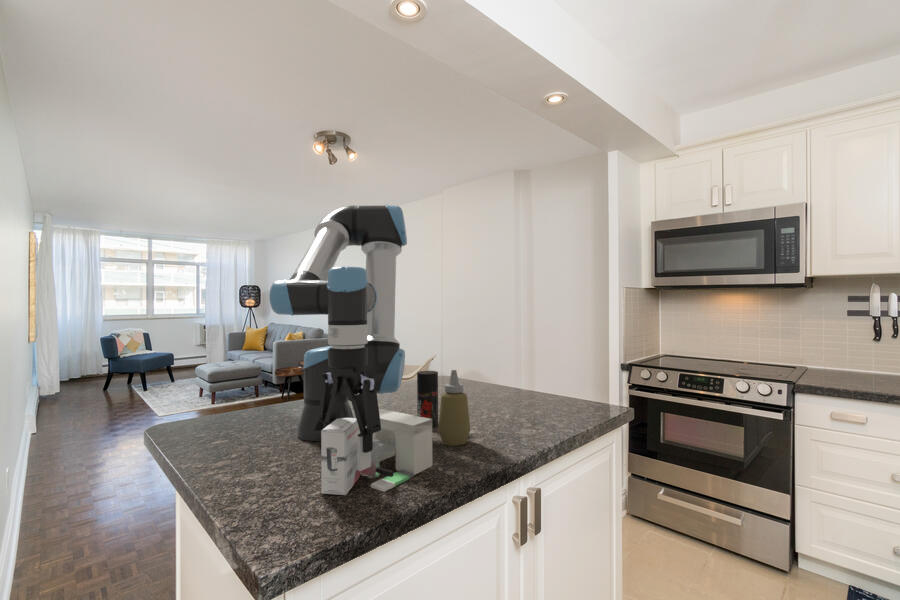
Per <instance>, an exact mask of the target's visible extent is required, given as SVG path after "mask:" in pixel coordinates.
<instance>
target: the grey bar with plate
mask: <svg viewBox="0 0 900 600" xmlns="http://www.w3.org/2000/svg"><path fill="white" fill-rule="evenodd" d="M372 446H373V449H372V451H371V467H369V468H366V469H364V470H362V471H360V474H364V475H367V476H370V477H372V478H378V477H380V474H381V475H384V476H386V477H387V476H390V477H392V476H393V473H394V471H392V470H388V469H387V468H386V469H385V468H382V467H380V462H379V456H380V455H382V454H385V453H387V452H390V451H392V450H395V451H396V437H395V438H392V437H391V438H388V439H385V440H383V441H380V442H379V440H376V439H373V445H372Z"/></svg>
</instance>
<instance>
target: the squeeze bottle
mask: <svg viewBox="0 0 900 600" xmlns="http://www.w3.org/2000/svg"><path fill="white" fill-rule="evenodd" d="M440 396H441V397H440V405H439V414H438V426H437V429H438V433H439V436H440V438H441V441H442V443H443V444H444V445H446V446H453V447H455V446H457V447H458V446H462V445H463V446H464V444H466V443H467V441H468V438H469V434H470V431H471V422H470V413H469V404H468V403H469V402H468V395H467V394H466V393H465V392H464V384H462V383H460V382H459V377H458V372H457V370H456V369H452V370H451V371H450V377H449V381H448V383H445V384H444V393H442V394H441V395H440Z"/></svg>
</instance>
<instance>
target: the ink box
mask: <svg viewBox="0 0 900 600" xmlns="http://www.w3.org/2000/svg"><path fill="white" fill-rule="evenodd" d="M358 434H360V430H359V426H358V423H357V419H356V417H353V418H337V419H336V420H335V421H333V422H332V423H331V424H329V425H328V426H327V427H325V428H324V429H323V430H321V441H320V443H321V444H320V445H321V446H320V447H321V464H320V465H321V471H320V472H321V494H322V495H323V494H324V495H326V494H327V495H338V496H347V494H348V493H349V491H350V490H351V489H352V488H353V487H354V485H355V484H356V482H357V481H358V480H359V478H360V477H361V475H360V474H361V473H360V471H358V470H357V435H358Z"/></svg>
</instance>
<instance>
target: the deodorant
mask: <svg viewBox="0 0 900 600" xmlns="http://www.w3.org/2000/svg"><path fill="white" fill-rule="evenodd" d="M416 393H417V394H416V397H417V399H416V401H417V405H416V408H417V411H416V413H417V415H416V416H419V417H424V418H429V419H432V429H433V428H436V427H437V428H438V426H439V371H436V370H420V371H417V372H416Z"/></svg>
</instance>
